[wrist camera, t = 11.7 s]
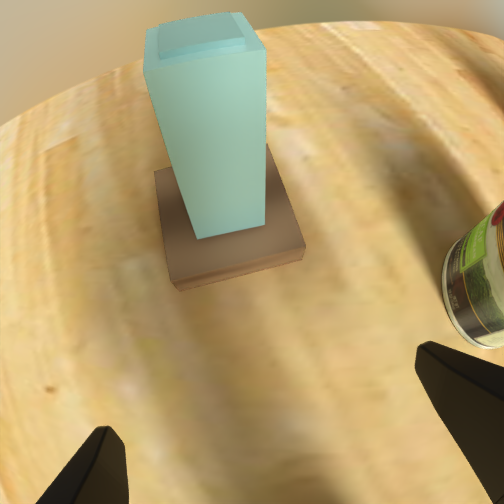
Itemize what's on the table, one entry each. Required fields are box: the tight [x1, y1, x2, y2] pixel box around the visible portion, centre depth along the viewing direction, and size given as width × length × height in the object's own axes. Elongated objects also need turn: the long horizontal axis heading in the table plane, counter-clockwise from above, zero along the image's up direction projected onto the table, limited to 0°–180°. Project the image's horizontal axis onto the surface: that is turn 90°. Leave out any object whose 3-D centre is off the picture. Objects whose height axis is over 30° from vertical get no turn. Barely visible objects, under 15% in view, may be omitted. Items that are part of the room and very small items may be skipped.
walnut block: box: [154, 144, 306, 291], centre depth 24 cm, size 9×9×3 cm
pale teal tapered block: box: [143, 12, 266, 239], centre depth 16 cm, size 4×4×13 cm
